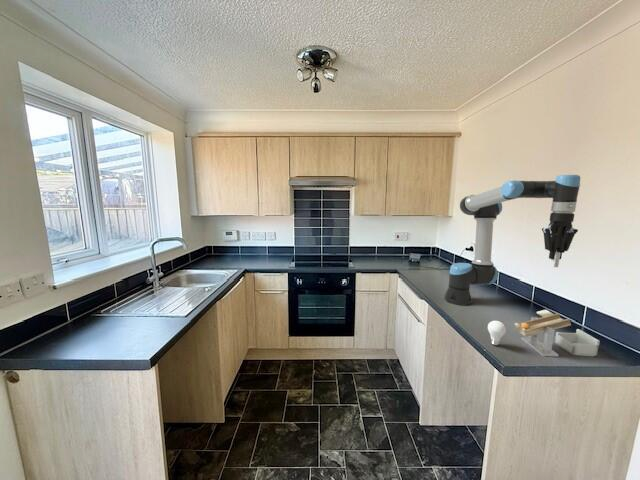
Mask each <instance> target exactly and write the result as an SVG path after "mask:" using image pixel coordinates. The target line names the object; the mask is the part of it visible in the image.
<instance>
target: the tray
mask: <svg viewBox="0 0 640 480" xmlns="http://www.w3.org/2000/svg"><path fill="white" fill-rule="evenodd" d="M575 330H576V331H575V332H560V331H555V335H554V337H555V338H554V341H553V343H554V344H556V345H558V347H561V348H562V349H563V350H564V351H565V352H567V353H569V354H570V355H572V356H576V357H577V356H580V357H582V356H583V357H594V356H598V351H599V346H600V339H597V338H595V337H594V336H592V335H590V334H588V333H586V332H585V331H583V330H582V329H579V328H577V329H575Z"/></svg>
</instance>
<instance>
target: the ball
mask: <svg viewBox="0 0 640 480" xmlns="http://www.w3.org/2000/svg"><path fill="white" fill-rule="evenodd" d="M521 323H522V322H521ZM521 327H523V328H524V329H530V326H529V325H528V324H527V323H522V324H521Z"/></svg>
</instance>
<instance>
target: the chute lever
mask: <svg viewBox="0 0 640 480" xmlns="http://www.w3.org/2000/svg"><path fill="white" fill-rule="evenodd" d="M536 314H537V315H539V316H540V317H537V318H538V319H534V320H531V319H530V320H527V321H526V320H525V321H524V322H523V321H522V322H519V323H518V322H515V323H514V327H515V330H516V331H517V332H519V333H520V334H521V335H522V336H523V337H528V336H531V335H535V334H537V335H538V334H543V333H545V330H546V327H553V328H555V330H557V329H561V328H565V327H566V328H567V327H570V326H572V323H571V320H570V318H566V319H563V318H561V316H560V315H561V314H560V313H558V312H556V313H553V312H551V311H549V310H548V309H542V310H538V311H536ZM522 323H527V324H528V325H529V326H530V329H524V328H523V327H521V324H522Z"/></svg>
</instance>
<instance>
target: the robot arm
mask: <svg viewBox="0 0 640 480" xmlns="http://www.w3.org/2000/svg"><path fill="white" fill-rule="evenodd" d="M580 187H581V176H580V175H579V174H560V175H557V176H556V178H555V180H517V179H516V180H508V181H507V180H506V181H505V182H504V184H502V185H501V186H499V187H495V188H494V189H493V188H492V189H490V190H487V191H484V192H482V193H478V194H469V195H468V196H465V197H463V198H462V199H461V200H460V203H459V208H460V211H461V212H462V213H463V214H465V215H468V216H473V219H474V220H475V221H476V224H475V225H476V229H475V245H474V259H473V260H472V261H471V262H470V263H467V262H455V263H453V264H451V265H450V267H449V277H448V287H447V289H446V291H445V293H444V295H443V297H444V298H443V299H444V300H445V301H446V302H448V303H450V304H452V305H453V304H454V305H457V306H458V305H459V306H469V305H471V304H472V301H473V299H472V295H471V291H470V288H471V286H472V285H473V286H476V285H479V286H481V285H483V286H487V285H493V284H494V283H495V282H496V281H497V280H498V275H499V273H498V269H497V266H494V263H493V261H492V248H493V234H494V233H493V232H494V222H495V220H497V216H498V215H501V213H502V210H503V204H502V203H504V202H506V201H507V202H508V201H511V200H516V199H524V198H526V199H528V198H529V199H552V202H551V208H550V211H551V213H550V214H549V224H548V226H547V227H542V228H541V230H542V233H543V240H544V249H545V250H546V251H549V253H548V259H549V263H548V264H549V265H548V266H549V267H551V268H559V265H560V260H561V259H562V255H563V253H565V252H568V251H569V249H570V247H571V244H572V243H573V239H574V237H575V235H576V234H577V233H578V232H579V229H577V228H574V227H573V223H574V221H575V212H576V207H577V202H578V195H579V191H580Z"/></svg>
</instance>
